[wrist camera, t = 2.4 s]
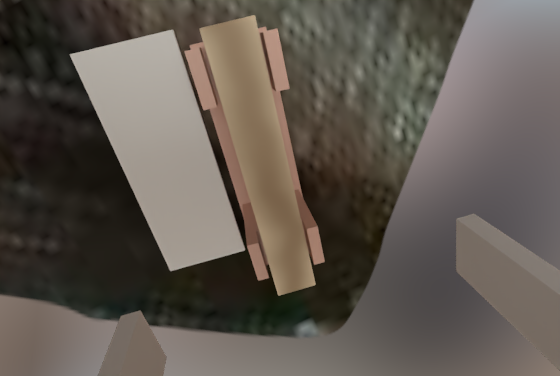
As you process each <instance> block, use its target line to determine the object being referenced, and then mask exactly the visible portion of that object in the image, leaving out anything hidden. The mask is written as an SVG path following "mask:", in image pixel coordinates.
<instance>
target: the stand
mask: <svg viewBox="0 0 560 376" xmlns="http://www.w3.org/2000/svg"><path fill="white" fill-rule="evenodd" d="M258 31H259V36H260V40H261V45H262V49H263V54H264V58H265V62H266V67H267V71H268V76H269V80H270V85H271V89H272V93H273V98H274V102H275V107H276V111H277V116H278V120H279V124H280V129H281V133H282V138H283V142H284V147H285V151H286V155H287V160H288V164H289V169H290V173H291V178H292V182H293V186H294V191H295V195H296V200H297V204H298V209H299V213H300V217H301V222H302V226H303V231H304V235H305V240H306V244H307V248H308V253H310V255H311V258H312V260H313V263H314V265H315V264H319V263H322V262H325V261H324V256H323V251H322V246H321V241H320V236H319V231H318V226H317V224H316V222H315V220H314V219H313V217H312V215H311V213H310V211H309V209H308V207H307V205H306V203H305V201H304V199H303V196H302V192H301V187H300V183H299V178H298V173H297V169H296V164H295V159H294V155H293V150H292V145H291V141H290V136H289V132H288V127H287V122H286V118H285V113H284V108H283V104H282V99H281V94H280V91H282V90H286V89H290V88H289V83H288V78H287V73H286V68H285V63H284V58H283V53H282V48H281V44H280V39H279V34H278V29H273V30H269V31H267V30H266V27H262V28H258ZM190 48H191V50H187V51H184V52H185V55H186V58H187V61H188V64H189V67H190V70H191V73H192V77H193V80H194V83H195V86H196V89H197V92H198V95H199V98H200V101H201V105H202V108H203V111H204V110H207V109H210V112H211V115H212V119H213V122H214V125H215V128H216V131H217V134H218V138H219V141H220V144H221V147H222V150H223V154H224V157H225V160H226V163H227V166H228V170H229V173H230V176H231V179H232V182H233V185H234V189H235V192H236V195H237V198H238V201H239V205H240V208H241V211H242V214H243V217H244V223H245V232H246V241H247V247H248V250H249V253H250V257H251V260H252V263H253V266H254V269H255V272H256V275H257V278H258V281H260V280H263V279H267V278H269V276H268V271H267V266H266V265H267V264H269V263H268V259H267V256H266V252H265V249H264V246H263V242H262V239H261V236H260V232H259V229H258V225H257V222H256V219H255V215H254V212H253V208H252V205H251V202H250V198H249V195H248V192H247V188H246V185H245V181H244V178H243V175H242V171H241V168H240V165H239V161H238V158H237V154H236V151H235V148H234V144H233V141H232V137H231V134H230V131H229V127H228V124H227V121H226V117H225V114H224V110H223V107H222V104H221V100H220V97H219V94H218V90H217V87H216V83H215V80H214V77H213V73H212V70H211V66H210V63H209V60H208V56H207V53H206V50H205V46H204V43H203V42H201V43H197V44H192V45H190Z"/></svg>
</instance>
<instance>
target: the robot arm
mask: <svg viewBox="0 0 560 376" xmlns="http://www.w3.org/2000/svg"><path fill="white" fill-rule="evenodd" d="M456 271H457V272H458V273H459V274H460V275H461V276H462V277H463V278H464V279H465V280H466V281H467V282H468V283H469V284H470V285H471V286H472V287H473V288H474V289H475V290H476V291H477V292H478V293H480V294H481V295H482V296H483V297H484V298H485V299H486V300H487V301H488V302H489V303H490V304H491V305H492V306H493V307H494V308H495V309H496V310H497V311H498V312H499V313H500V314H501V315H502V316H503V317H504V318H505V319H506V320H508V321H509V322H510V323H511V324H512V325H513V326H514V327H515V328H516V329H517V330H518V331H519V332H520V333H521V334H522V335H523V336H524V337H525V338H526V339H527V340H528V341H529V342H530V343H531V344H532V345H534V346H535V347H536V348H537V349H538V350H539V351H540V352H541V353H542V354H543V355H544V356H545V357H546V358H547V359H548V360H549V361H550V362H551V363H552V364H553V365H554V366H555V367H557V369H558V370H560V271H559V270H558V269H556V268H555V267H553V266H552V265H550V264H549V263H547V262H546V261H544V260H543V259H541V258H540V257H538V256H537V255H535V254H534V253H532V252H531V251H529V250H527V249H526V248H525V247H523V246H522V245H520V244H519V243H517V242H516V241H514V240H513V239H511V238H510V237H508V236H507V235H505V234H504V233H502V232H501V231H499V230H498V229H496V228H495V227H493V226H492V225H490V224H489V223H487V222H486V221H484V220H483V219H481V218H480V217H478V216H477V215H475V214H471V215H468V216H465V217H461V218H457V221H456ZM165 363H166V355H165V354H164V352H163V350H162V348H161V346H160V345H159V343H158V341H157V339H156V338H155V336H154V334H153V332H152V330H151V329H150V327H149V325H148V323H147V321H146V320H145V318H144V316H143V314H142V312H141V311H137V312H133V313H130V314H126V315H123V316H121V317H120V320H119V322H118V325H117V327H116V330H115V333H114V335H113V338H112V341H111V343H110V345H109V348H108V351H107V353H106V356H105V358H104V361H103V363H102V366H101V369H100V371H99V374H98V376H163V374H164V368H165Z"/></svg>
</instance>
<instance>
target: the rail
mask: <svg viewBox="0 0 560 376" xmlns="http://www.w3.org/2000/svg"><path fill="white" fill-rule="evenodd" d="M199 29H200V33H201V36H202V39H203V43H204V46H205V50H206V53H207V56H208V60H209V63H210V66H211V70H212V73H213V77H214V80H215V83H216V87H217V90H218V94H219V97H220V100H221V104H222V107H223V110H224V114H225V117H226V121H227V124H228V127H229V131H230V134H231V137H232V141H233V144H234V148H235V151H236V154H237V158H238V161H239V165H240V168H241V171H242V175H243V178H244V181H245V185H246V188H247V192H248V195H249V198H250V202H251V205H252V208H253V212H254V215H255V219H256V222H257V225H258V229H259V232H260V236H261V239H262V242H263V246H264V249H265V252H266V256H267V259H268V263H269V266H270V269H271V273H272V276H273V279H274V283H275V286H276V290H277V293H278V296H279V295H283V294H286V293H290V292H293V291H297V290H300V289H303V288H307V287H310V286H314V285H316V284H315V279H314V275H313V271H312V266H311V262H310V257H309V253H308V248H307V244H306V240H305V235H304V231H303V226H302V222H301V217H300V213H299V209H298V204H297V200H296V195H295V191H294V186H293V182H292V178H291V173H290V169H289V164H288V160H287V155H286V151H285V147H284V142H283V138H282V133H281V129H280V124H279V120H278V116H277V111H276V107H275V102H274V98H273V93H272V89H271V85H270V80H269V76H268V71H267V67H266V62H265V58H264V54H263V49H262V45H261V40H260V36H259V31H258V27H257V23H256V18H255V15H253V16H248V17H244V18H240V19H236V20H232V21H228V22H224V23H220V24H215V25H211V26H207V27H203V28H199Z"/></svg>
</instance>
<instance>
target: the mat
mask: <svg viewBox="0 0 560 376" xmlns="http://www.w3.org/2000/svg"><path fill="white" fill-rule="evenodd" d="M70 57H71V59H72V61H73V63H74V65H75V67H76V69H77V72H78V74H79V76H80V78H81V80H82V82H83V84H84V87H85V89H86V91H87V93H88V95H89V97H90V100H91V102H92V104H93V106H94V108H95V110H96V112H97V115H98V117H99V119H100V121H101V123H102V125H103V127H104V130H105V132H106V134H107V136H108V138H109V140H110V143H111V145H112V147H113V149H114V151H115V153H116V155H117V158H118V160H119V162H120V164H121V166H122V168H123V170H124V173H125V175H126V177H127V179H128V181H129V183H130V186H131V188H132V190H133V192H134V194H135V196H136V198H137V201H138V203H139V205H140V207H141V209H142V211H143V213H144V216H145V218H146V220H147V222H148V224H149V226H150V229H151V231H152V233H153V235H154V237H155V239H156V241H157V244H158V246H159V248H160V250H161V252H162V254H163V257H164V259H165V261H166V263H167V265H168V267H169V269H170V271H173V270H177V269H180V268H184V267H187V266H191V265H195V264H198V263H202V262H205V261H209V260H212V259H216V258H220V257H223V256H227V255H230V254H234V253H237V252H241V251H244V250H245V247H244V243H243V240H242V237H241V234H240V231H239V228H238V225H237V222H236V219H235V216H234V213H233V210H232V207H231V204H230V201H229V198H228V195H227V191H226V188H225V185H224V182H223V179H222V176H221V173H220V170H219V167H218V164H217V161H216V158H215V155H214V152H213V149H212V146H211V143H210V139H209V136H208V133H207V130H206V127H205V124H204V121H203V118H202V115H201V112H200V109H199V106H198V103H197V100H196V97H195V94H194V91H193V87H192V84H191V81H190V78H189V75H188V72H187V69H186V66H185V63H184V60H183V57H182V54H181V51H180V48H179V45H178V42H177V39H176V35H175V32H174V30H169V31H165V32H161V33H157V34H152V35H148V36H144V37H140V38H136V39H132V40H127V41H123V42H119V43H115V44H111V45H107V46H103V47H98V48H94V49H90V50H86V51H82V52H78V53H74V54H70Z"/></svg>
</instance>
